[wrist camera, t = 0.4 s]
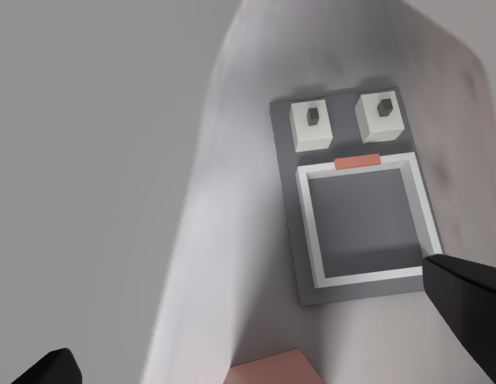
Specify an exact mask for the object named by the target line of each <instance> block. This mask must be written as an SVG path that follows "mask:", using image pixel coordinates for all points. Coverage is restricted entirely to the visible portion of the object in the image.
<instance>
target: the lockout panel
mask: <svg viewBox="0 0 496 384" xmlns="http://www.w3.org/2000/svg"><path fill="white" fill-rule="evenodd" d="M270 114H271V120H272V126H273V133H274V139H275V146H276V152H277V158H278V165H279V171H280V178H281V184H282V190H283V197H284V203H285V209H286V216H287V222H288V229H289V235H290V241H291V248H292V254H293V260H294V267H295V273H296V280H297V286H298V292H299V299H300V305H301V306H308V305H315V304H323V303H331V302H339V301H347V300H355V299H363V298H370V297H378V296H386V295H394V294H402V293H410V292H418V291H425V290H424V286H423V274H422V259H423V258H424V257H426V256H430V255H434V254H444V255H445V251H444V248H443V244H442V241H441V237H440V234H439V230H438V226H437V223H436V219H435V216H434V212H433V209H432V205H431V201H430V198H429V194H428V191H427V187H426V184H425V180H424V176H423V173H422V169H421V166H420V162H419V159H418V155H417V152H416V148H415V144H414V141H413V137H412V134H411V130H410V127H409V123H408V119H407V116H406V112H405V109H404V105H403V102H402V98H401V94H400V91H399V87H396V88H388V89H380V90H372V91H363V92H355V93H347V94H339V95H331V96H323V97H315V98H307V99H299V100H291V101H283V102H275V103H270Z"/></svg>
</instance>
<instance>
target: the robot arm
mask: <svg viewBox="0 0 496 384" xmlns="http://www.w3.org/2000/svg"><path fill="white" fill-rule="evenodd" d="M422 274H423V286H424V290H425V292H426V294H427V296H428V297H429V299H430V300H431V301H432V303H433V304H434V306H435V307H436V309H437V310H438V311H439V313H440V314H441V316H442V317H443V319H444V320H445V322H446V323H447V324H448V326H449V327H450V329H451V330H452V332H453V333H454V335H455V336H456V337H457V339H458V340H459V341H460V343H461V344H462V346H463V347H464V348H465V349H466V350H467V352H468V353H469V354H470V355H471V357H472V358H473V359H474V360H475V361H476V362H477V364H478V365H479V366H480V367H481V368H482V369H483V371H484V372H485V373H486V374H487V375H488V376H489V378H490V379H491V380H492V381H493V382H494V383H495V384H496V268H495V267H491V266H487V265H484V264H480V263H476V262H472V261H468V260H464V259H460V258H456V257H452V256H448V255H444V254H434V255H430V256H426V257H424V258H423V259H422ZM11 384H82V374H81V371H80V369H79V367H78V365H77V363H76V361H75V358H74V356H73V354H72V352H71V350H69V349H68V348H62V349H59V350H55V351H51V352H49V353H48V354H46V355H45V356H44V357H43V358H41V359H40V360H39V361H38V362H37V363H36V364H34V365H33V366H32V367H31V368H29V369H28V370H27V371H26V372H24V373H23V374H22V375H21V376H20V377H18V378H17V379H16V380H15V381H14V382H12V383H11Z"/></svg>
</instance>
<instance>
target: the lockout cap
mask: <svg viewBox="0 0 496 384" xmlns="http://www.w3.org/2000/svg"><path fill="white" fill-rule="evenodd" d="M223 384H325V383H324V381H323V380H322V379H321V377H320V376H319V375H318V373H317V372H316V371H315V369H314V368H313V367H312V366H311V364H310V363H309V362H308V360H307V359H306V358H305V356H304V355H303V354H302V352H301V351H300V350H299V348H297V349H293V350H290V351H286V352H283V353H279V354H276V355H272V356H269V357H265V358H262V359H258V360H255V361H251V362H248V363H245V364H241V365H238V366H234V367H231V368H229V371H228V373H227V376H226V378H225V381H224V383H223Z"/></svg>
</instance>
